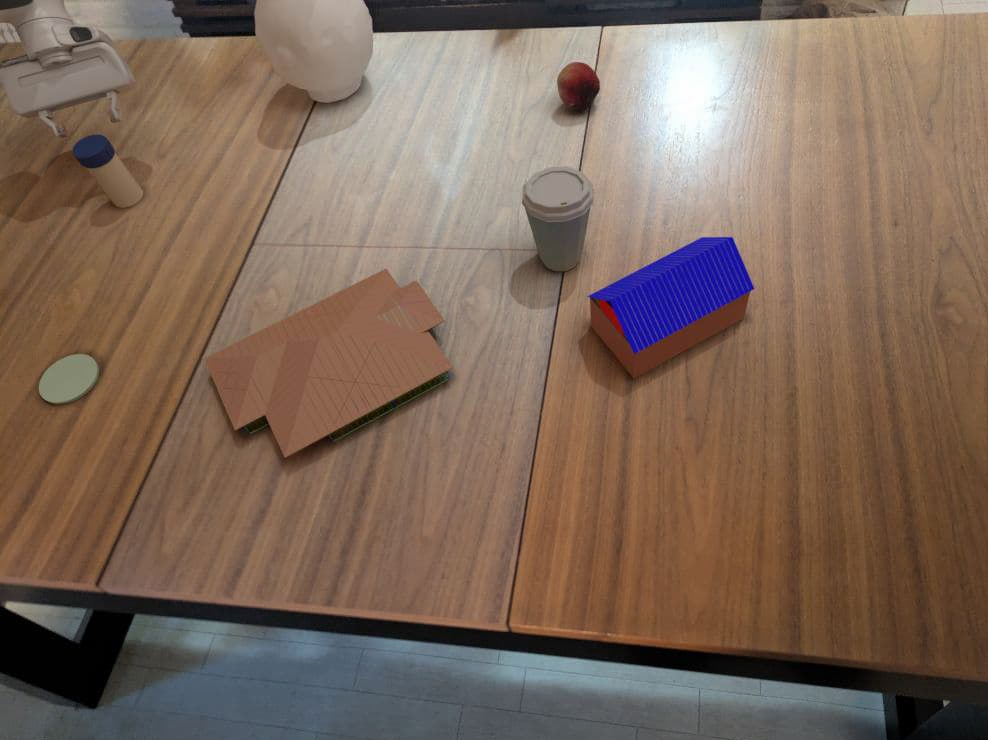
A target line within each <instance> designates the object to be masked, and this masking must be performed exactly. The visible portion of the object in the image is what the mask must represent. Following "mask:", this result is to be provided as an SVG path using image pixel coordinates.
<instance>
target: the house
mask: <svg viewBox="0 0 988 740" xmlns="http://www.w3.org/2000/svg"><path fill="white" fill-rule="evenodd" d="M753 290H755V287H754V284H753V282H752V279H751V277H750V274H749V272H748V270H747V268H746V265H745V262H744V261H743V258H742V256H741V254H740V252H739V249H738V247H737V244H736V242H735V239H734V237H733V236H702V237H700V238H698V239H696V240H694V241H692V242H690V243H688V244H686V245H683V246H681V247H680V248H678V249H676V250H674V251H672V252H671V253H668V254H667V255H665V256H663V257H661V258H658V259H656V260H655V261H653V262H651V263H649V264H647V265H645V266H643V267H641V268H640V269H638V270H635V271H633V272H632V273H630V274H628V275H626V276H624V277H622V278H620V279H618V280H616V281H614V282H612V283H610V284H608V285H607V286H605V287H603V288H600V289H599V290H597V291H594V292H593V293H591V294H589V295H587V296H586V298H589V308H590V310H589V311H590V326H591V328H592V329H593V330H594V332H595V333H596V334H597V335H598V336H599V338H600V339H601V341H603V343H604V344H605V345H606V346H607V348H608V349H609V350H610V351H611V353H612V354H613V355H614V356H615V357H616V359H617V360H618V361H619V362H620V364H621V365H622V366H623V368H624V369H625V370H626V371H627V372H628V374H629V375H630V376H631V377H632V378H633V379H636V378H638V377H640V376H641V375H643V374H645V373H647V372H649V371H651V370H652V369H654V368H656V367H658V366H660V365H661V364H663V363H666V362H667V361H669V360H671V359H672V358H674V357H676V356H678V355H680V354H682V353H683V352H685V351H687V350H689V349H691V348H692V347H695V346H697V345H698V344H700V343H701V342H703V341H706V340H707V339H709V338H711V337H713V336H715V335H716V334H718V333H720V332H722V331H723V330H725V329H727V328H729V327H730V326H732V325H734V324H736V323H738V322H740V321H741V320H743V319H745V314H746V311H747V307H748V303H749V299H750V294H751V292H752V291H753Z"/></svg>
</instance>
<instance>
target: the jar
mask: <svg viewBox="0 0 988 740" xmlns="http://www.w3.org/2000/svg"><path fill="white" fill-rule="evenodd" d="M85 170H86V171H87V172H88V173H89V174H90V176H91V177H92V178H93V179H94V181H95V182H96V183H97V185H98V186H99V187H100V189H101V190H102V191H103V192H104V194H105V195H106V196H107V197H108V198H109V200H110V201H111V202H112V203H113V205H114V206H115V207H117V208H121V209H124V208H131V207H133V206H134V205H136V204H137V203H139V202H140V201H141V200H142V199H143V197H144V190H143V188H142V187H141V185H140V184H139V182H137V180H136V179H135V177H134V175H132V173H131V172H130V170H129V169H128V167H127V166H126V165H125V163H124V162H123V160H122V159H121V157H119V155H118V154H117V152H115V154H114V156H113V158H112V159H111V160H110V161H109V162H107V163H106V164H104V165H102V166H100V167H96V168H85Z"/></svg>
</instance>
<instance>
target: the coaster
mask: <svg viewBox="0 0 988 740" xmlns="http://www.w3.org/2000/svg"><path fill="white" fill-rule="evenodd" d="M99 376H100V365H99V363H98V361H97V360H95V358H93V357H92V356H90V355H88V354H85V353H76V354H71V355H67V356H64V357H63V358H60V359H58V360H57V361H56V362H54V363H53V364H51V365H50V366H49V367H48V368H47V369H46V370H45V371H44V372H43V374H42V376H41V378H40V379H39V383H38V392H39V393H38V394H40V397H41V398H42V399H43V400H44V401H46V402H47V403H49V404H53V405H67V404H70V403H73V402H75V401H77V400H79V399H81V398H83V397H84V396H85V395H87V394H88V393H89V392H90V391H91V390H92V388H93V387H94V386H95V384H96V383H97V381H98V379H99Z"/></svg>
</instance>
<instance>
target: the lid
mask: <svg viewBox="0 0 988 740" xmlns="http://www.w3.org/2000/svg"><path fill="white" fill-rule="evenodd" d="M71 153H72V155H73V157H74V158H75V160H76V161H77V162H78V163H79V164H80V166H81V167H83V168H85V169H86V168H96V167H100V166H102V165H104V164H106V163H107V162H109V161H110V160H111V159H112V158H113V156H114V154H115V153H116V149H115V148H114V146H113V145H112V143H111V142H110V141H109V139H108V138H107V137H106V136H105V135H103V134H91V135H88V136H84V137H83V138H81V139H79V140H78V141H77V142H76V143H75V144H74V145H73V147H72V150H71Z"/></svg>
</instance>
